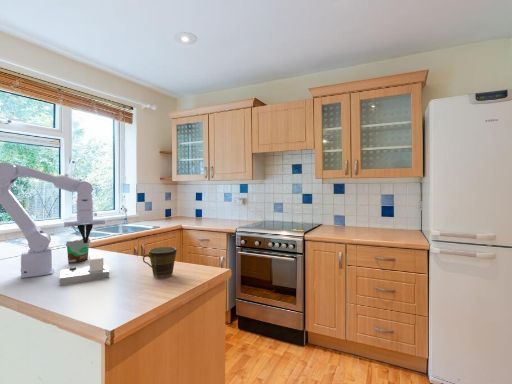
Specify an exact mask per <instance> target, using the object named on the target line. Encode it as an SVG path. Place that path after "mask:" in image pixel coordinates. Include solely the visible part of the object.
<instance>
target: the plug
mask: <svg viewBox="0 0 512 384" xmlns="http://www.w3.org/2000/svg"><path fill="white" fill-rule="evenodd" d="M103 264H104V257H103V255H101V254H100V255H91V256H88V266H89V270H90V272H93V271H101V270H104V267H103Z"/></svg>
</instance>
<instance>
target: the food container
mask: <svg viewBox="0 0 512 384" xmlns="http://www.w3.org/2000/svg"><path fill="white" fill-rule="evenodd" d="M85 239H86V236H85ZM90 244H91V239H90V237H88V243H84V241H83V238H82V239H76V240H72V241H69V240H68V241H66V243H65V247H66V250H67V263H68V265H69V264H79V263H80V264H81V263H85V262H87V261H89V246H90Z"/></svg>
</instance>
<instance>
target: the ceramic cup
mask: <svg viewBox="0 0 512 384" xmlns="http://www.w3.org/2000/svg"><path fill="white" fill-rule="evenodd" d="M177 250H178V249H177V248H176V247H173V246H161V247H160V246H159V247H153V248H151V249H149V250H148V253H146V254H144V255H143V257H142V262H143V263H145V264H146V265H147V266H149V267H150V268H151V269H152V276H153V278H154V279H158V280H160V279H162V280H164V279H168V278H171V277H172V276H173V273H174V266H175V260H176V257H177ZM146 257H149V261H150V263H149V262H146V261H145V258H146Z"/></svg>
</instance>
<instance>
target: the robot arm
mask: <svg viewBox="0 0 512 384" xmlns="http://www.w3.org/2000/svg"><path fill="white" fill-rule="evenodd" d="M19 178H22V179H23V178H31V179H32V178H34V179H37V180H41V181H44V182H48V183H52V184H53V185H54V188H56V189H60V190H63V191H67V192H70V193H75V192H76V193H77V195H76V197H77V198H76V220H72V221H64V222H63V227H64V228H67V227H77V229H78V231H79V233H80V235H81V237H82V239H83V241H84V243H88V238H90V234H91V232H92V229H93V226H96V225H106V220H105V219H94V207H93V206H94V205H93V194H92V192H93V190H94V189H93V186H92V184H91V183H90V182H88V181H85V180H84V181H82V178H75V177H72V176H69V174H68V173H64V174H63V173H61V174H58V175H54V174H51V173H49V172H45V171H42V170H40V169H36V168H32V167H30V166H26V165H22V164H21V165H20V164H12V163H10V162H5V161H4V162H3V161H2V162H0V205H1V206H2V208H3V209H4V210H5V212H6V213H7V214H8V216H10V218H11V219H12V220H13V222H14V223H15V224H16V225H17V227H18V229H20V230H21V232H22V233H23V236H24V238H25V239H26V240H27V245H28V250H27V251H25V252H22V253H21V255H20V279H24V278H31V277H40V276H46V275H52V274H53V273H54V270H55V268H53V267H52V265H53V263H52V262H53V261H52V259H53V258H52V257H53V256H52V252H53V251H52V247H50V243H51V241H52V238H51V235H50V234H49V233H47V232H45V231H44V230H42V228H41V227H40V226H38V225H37V223H36V222H35V221H34V220H33V218H32V217H31V215H29V213H28V212H27V210H26V208H24V207H23V205H22V204H21V203H20V202H19V199H17V197H16V196H15V194H14V193H12V191H11V189H12V186H13V184H14V182H16V181H17V179H19ZM85 237H86V239H85Z"/></svg>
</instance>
